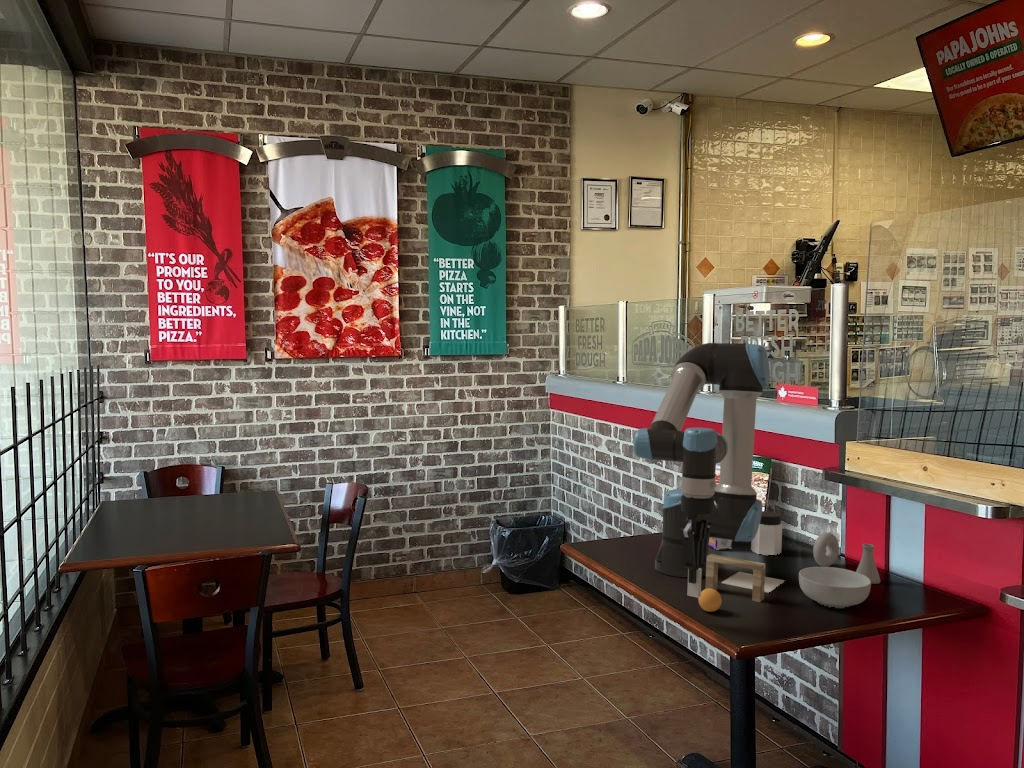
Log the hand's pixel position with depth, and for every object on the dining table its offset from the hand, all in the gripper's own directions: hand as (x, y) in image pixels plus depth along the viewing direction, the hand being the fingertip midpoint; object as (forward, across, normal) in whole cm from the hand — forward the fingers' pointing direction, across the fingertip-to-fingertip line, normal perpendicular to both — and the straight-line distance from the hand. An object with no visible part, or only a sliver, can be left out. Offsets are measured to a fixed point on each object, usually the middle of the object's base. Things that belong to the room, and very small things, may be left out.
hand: (693, 595), depth 193 cm
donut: (+5, +69, -11) cm, 70 cm away
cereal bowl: (+6, +36, -22) cm, 43 cm away
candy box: (+5, +71, +24) cm, 75 cm away
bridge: (+6, +26, 0) cm, 27 cm away
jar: (+5, +73, +8) cm, 74 cm away
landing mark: (+6, +40, 0) cm, 40 cm away
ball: (+3, +10, 0) cm, 11 cm away
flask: (+6, +62, -24) cm, 67 cm away
